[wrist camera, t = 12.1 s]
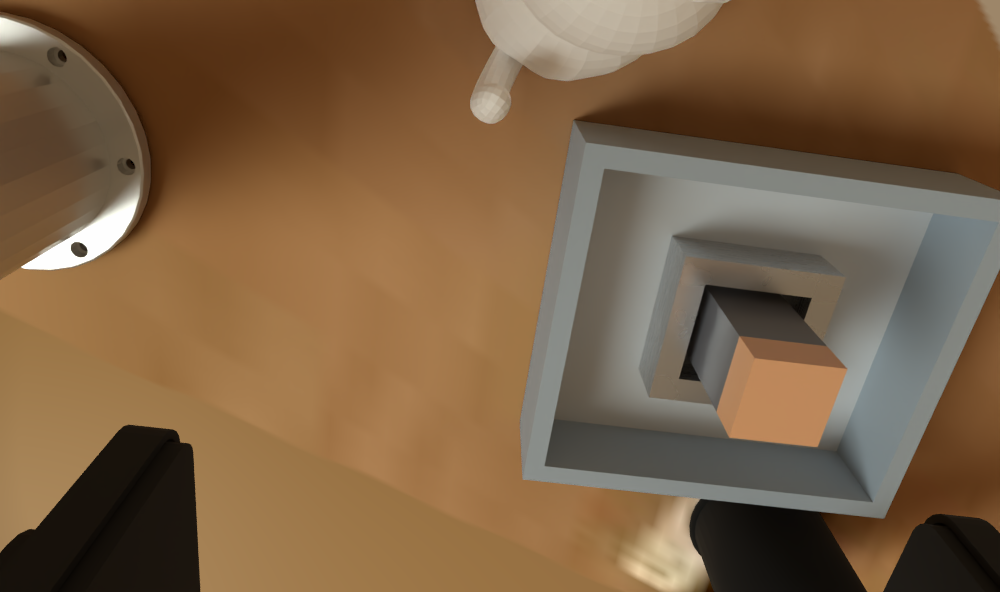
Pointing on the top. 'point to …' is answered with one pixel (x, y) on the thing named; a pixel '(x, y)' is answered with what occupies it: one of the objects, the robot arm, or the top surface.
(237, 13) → the top surface
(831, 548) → the aerosol can
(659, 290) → the inlet
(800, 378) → the block
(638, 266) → the walled box
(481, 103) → the cat figurine
